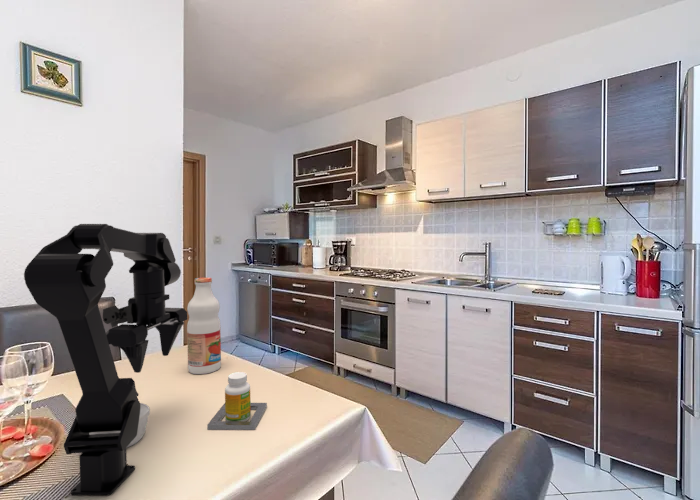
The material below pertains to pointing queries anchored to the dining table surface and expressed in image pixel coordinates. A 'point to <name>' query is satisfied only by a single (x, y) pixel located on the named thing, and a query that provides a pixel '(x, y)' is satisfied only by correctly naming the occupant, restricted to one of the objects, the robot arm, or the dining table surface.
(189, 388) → the dining table surface
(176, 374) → the dining table surface
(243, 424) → the frame
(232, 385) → the supplement bottle
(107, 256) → the robot arm
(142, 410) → the ramekin
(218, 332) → the fruit juice
